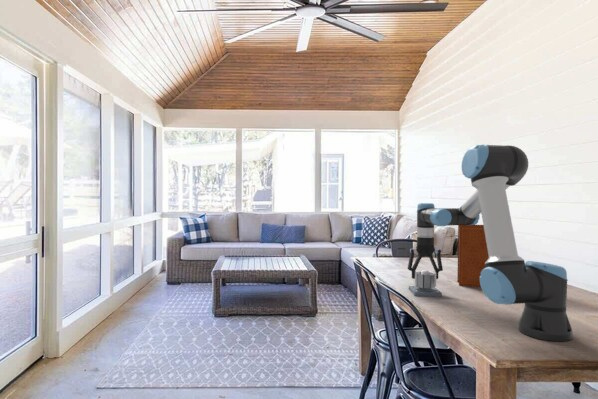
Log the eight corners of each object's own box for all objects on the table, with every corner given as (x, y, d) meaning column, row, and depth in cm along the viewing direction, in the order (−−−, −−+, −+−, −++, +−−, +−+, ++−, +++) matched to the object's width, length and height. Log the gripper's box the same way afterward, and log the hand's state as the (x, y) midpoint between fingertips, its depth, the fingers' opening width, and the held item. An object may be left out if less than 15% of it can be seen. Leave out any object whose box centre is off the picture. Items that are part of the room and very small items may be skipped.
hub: (436, 288, 176) (436, 275, 176) (418, 288, 177) (418, 275, 177) (431, 284, 184) (431, 271, 184) (413, 284, 185) (414, 271, 185)
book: (458, 285, 195) (459, 225, 195) (457, 281, 203) (458, 224, 202) (510, 289, 188) (511, 226, 188) (506, 285, 196) (507, 225, 196)
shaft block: (441, 296, 174) (442, 274, 174) (414, 295, 175) (414, 273, 175) (434, 289, 186) (434, 268, 186) (408, 289, 187) (408, 268, 187)
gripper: (445, 236, 183) (445, 284, 184) (400, 235, 184) (400, 283, 185) (451, 237, 176) (450, 288, 176) (404, 237, 177) (403, 287, 177)
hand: (424, 285), depth 181 cm, fingers closed on hub, 8 cm apart
